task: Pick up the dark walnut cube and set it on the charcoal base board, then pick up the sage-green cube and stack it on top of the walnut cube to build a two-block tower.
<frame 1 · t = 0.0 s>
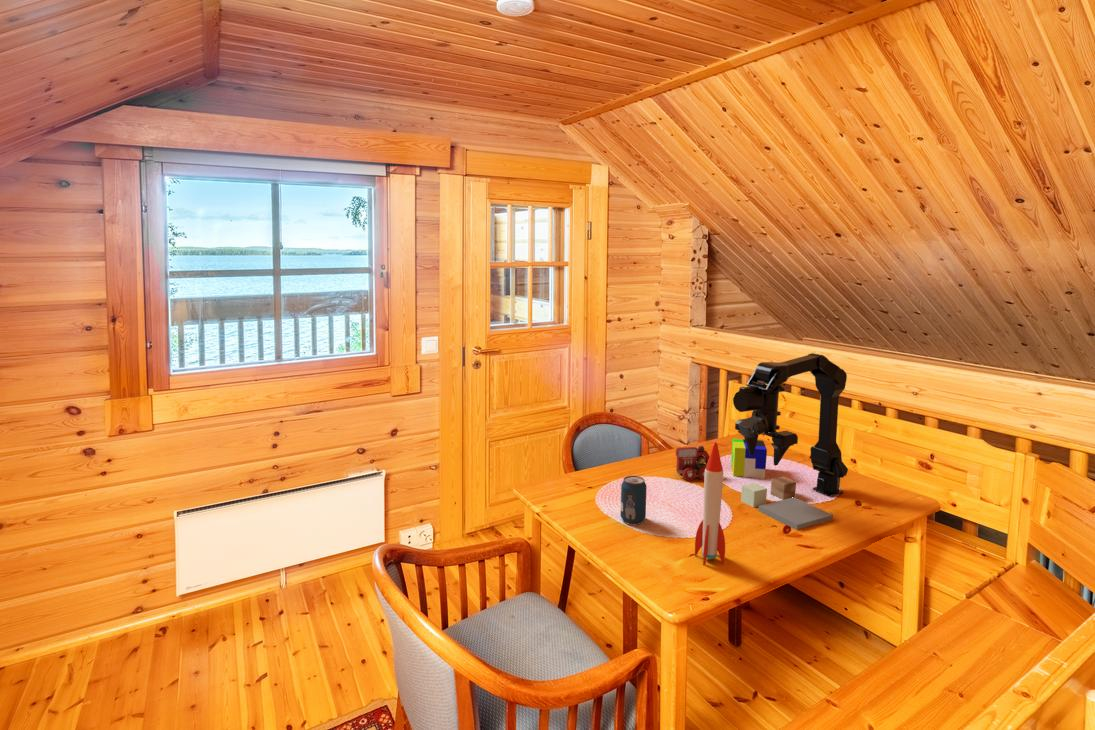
hand: (763, 460, 183), 15 cm above the table, tool pointing down, fingers open, 9 cm apart
base board: (795, 515, 181), on the table
puzzle toy: (747, 473, 215), on the table
toy fire truck: (693, 477, 211), on the table
toy rocket: (709, 560, 156), on the table
soda can: (632, 520, 178), on the table
walnut cube: (782, 495, 195), on the table
sage cube: (753, 503, 190), on the table
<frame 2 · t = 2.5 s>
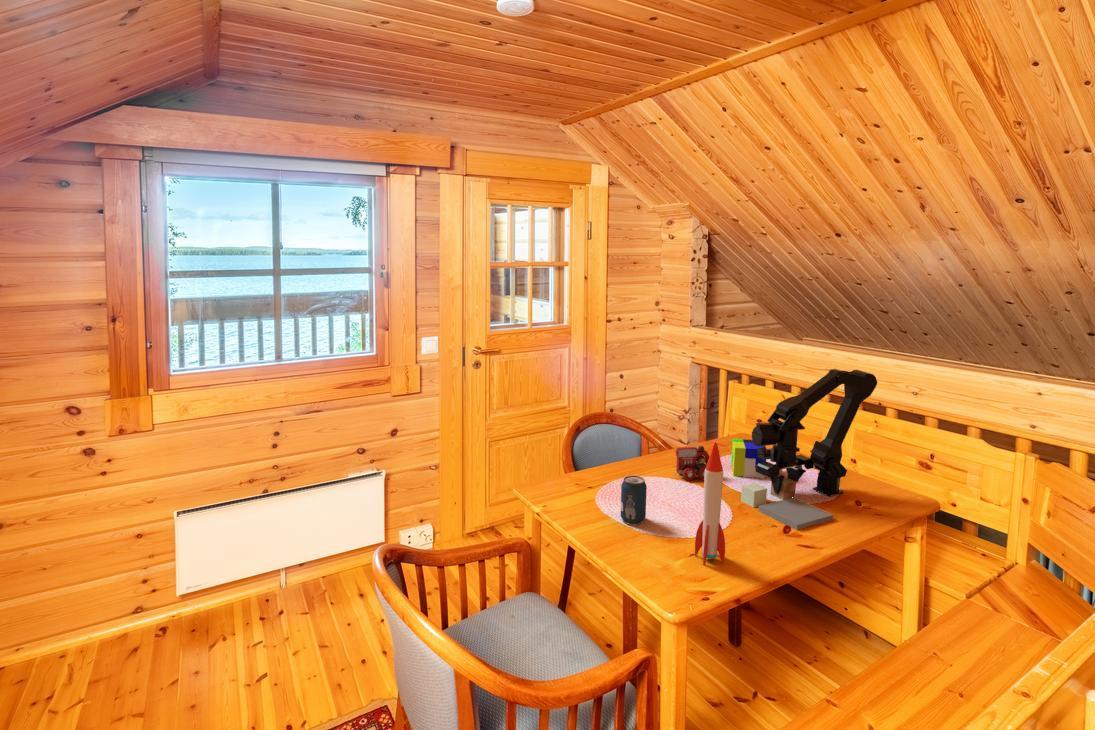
hand: (783, 492, 195), 1 cm above the table, tool pointing down, fingers closed on walnut cube, 5 cm apart
walnut cube: (782, 495, 195), on the table, touching gripper
everything else where it was.
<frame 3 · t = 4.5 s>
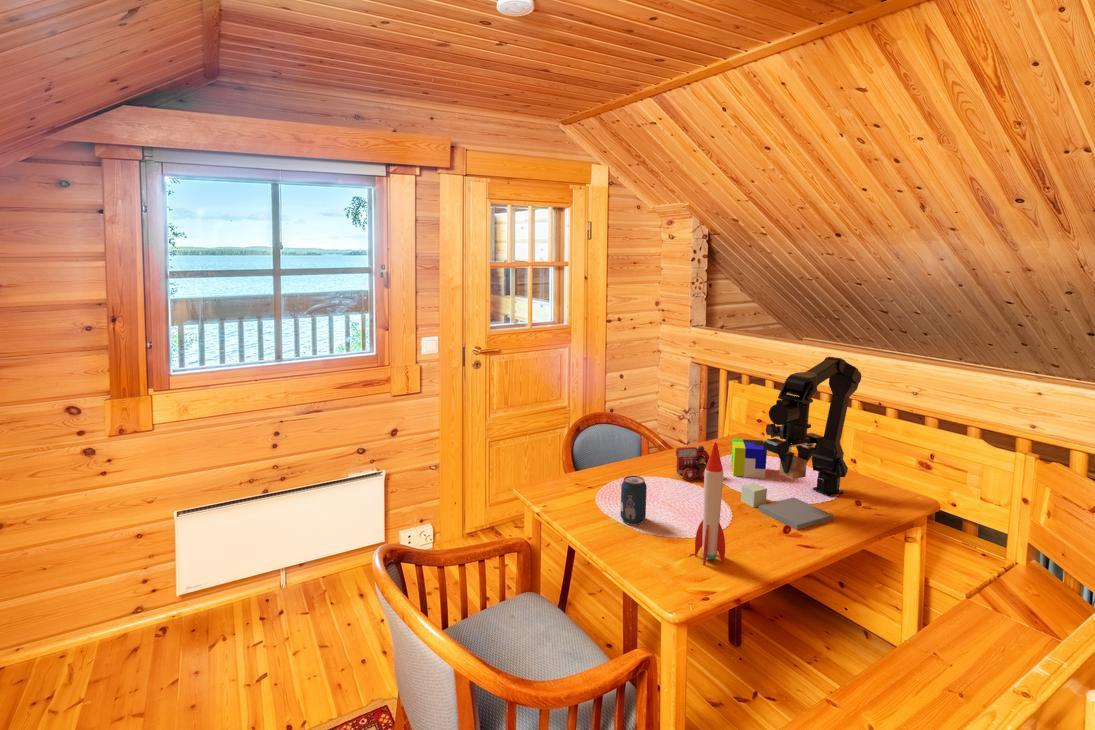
hand: (792, 471, 183), 11 cm above the table, tool pointing down, fingers closed on walnut cube, 5 cm apart
walnut cube: (792, 475, 183), point 10 cm above the table, touching gripper
everything else where it was.
when the fingers open (3 cm above the table, at t = 6.6 s): walnut cube stays where it is, resting on base board.
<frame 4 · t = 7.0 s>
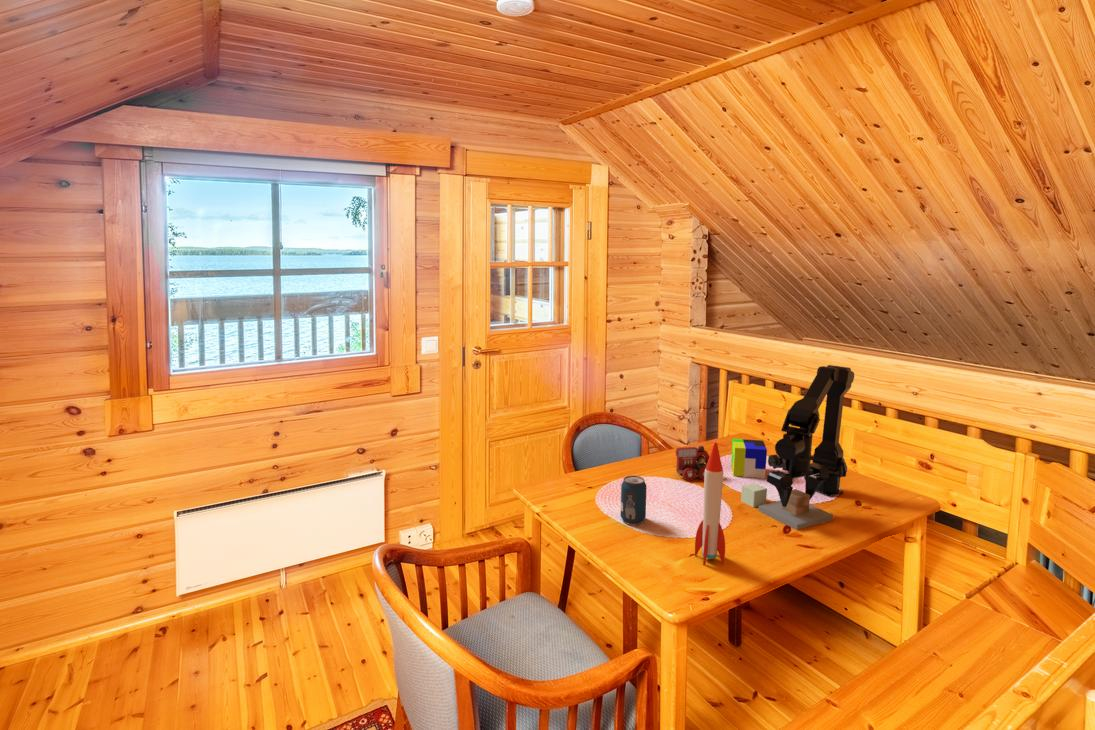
hand: (795, 503, 180), 3 cm above the table, tool pointing down, fingers open, 9 cm apart
walnut cube: (795, 510, 181), point 1 cm above the table, touching base board
everything else where it was.
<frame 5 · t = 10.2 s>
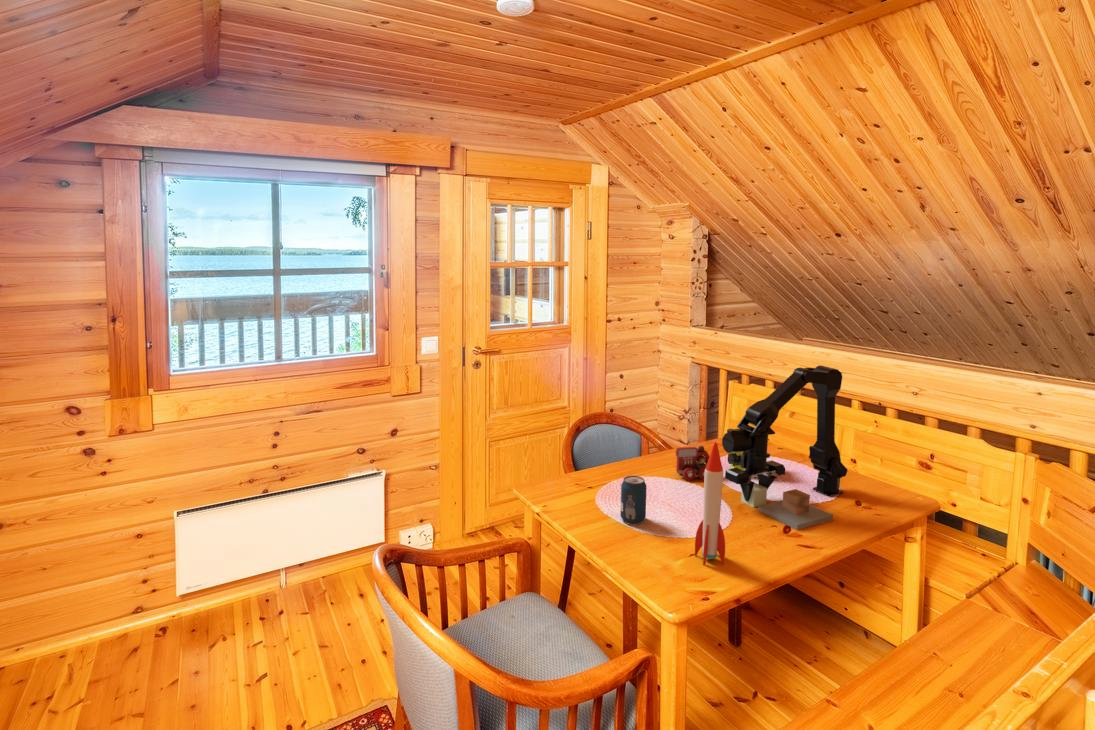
hand: (753, 499, 189), 1 cm above the table, tool pointing down, fingers closed on sage cube, 5 cm apart
sage cube: (753, 502, 190), on the table, touching gripper
everything else where it was.
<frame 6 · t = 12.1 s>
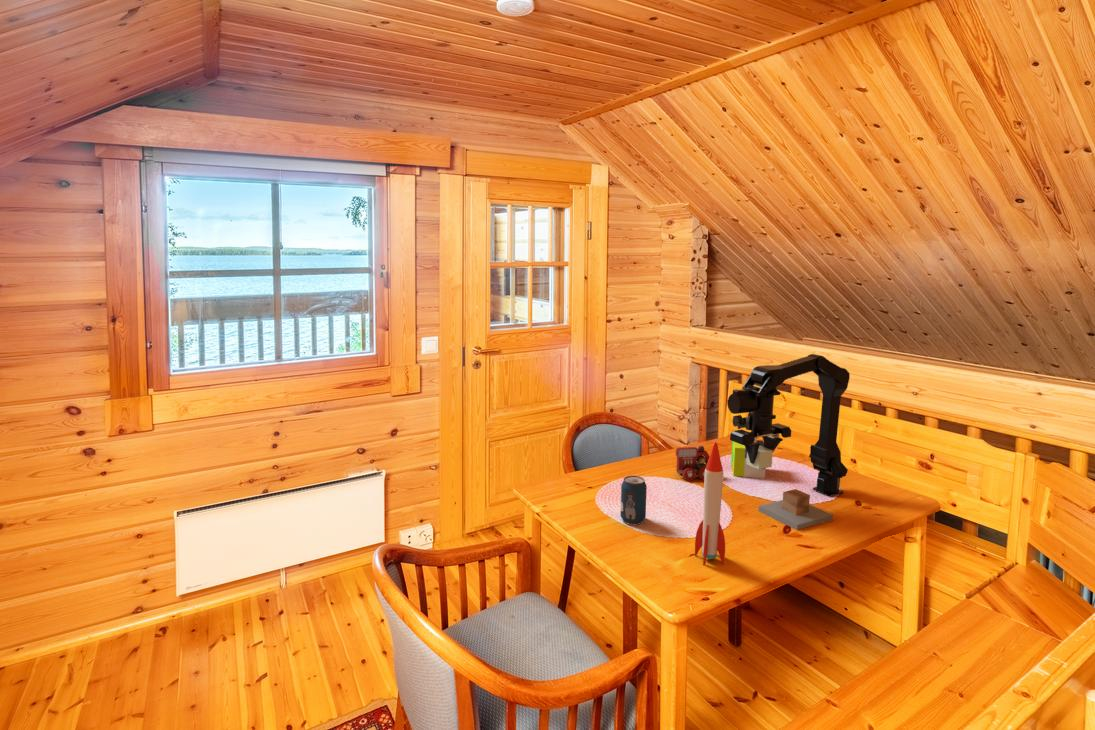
hand: (759, 462, 187), 13 cm above the table, tool pointing down, fingers closed on sage cube, 5 cm apart
sage cube: (758, 465, 187), point 12 cm above the table, touching gripper
everything else where it was.
when the fingers open (8 cm above the table, at t = 14.0 s): sage cube stays where it is, resting on walnut cube.
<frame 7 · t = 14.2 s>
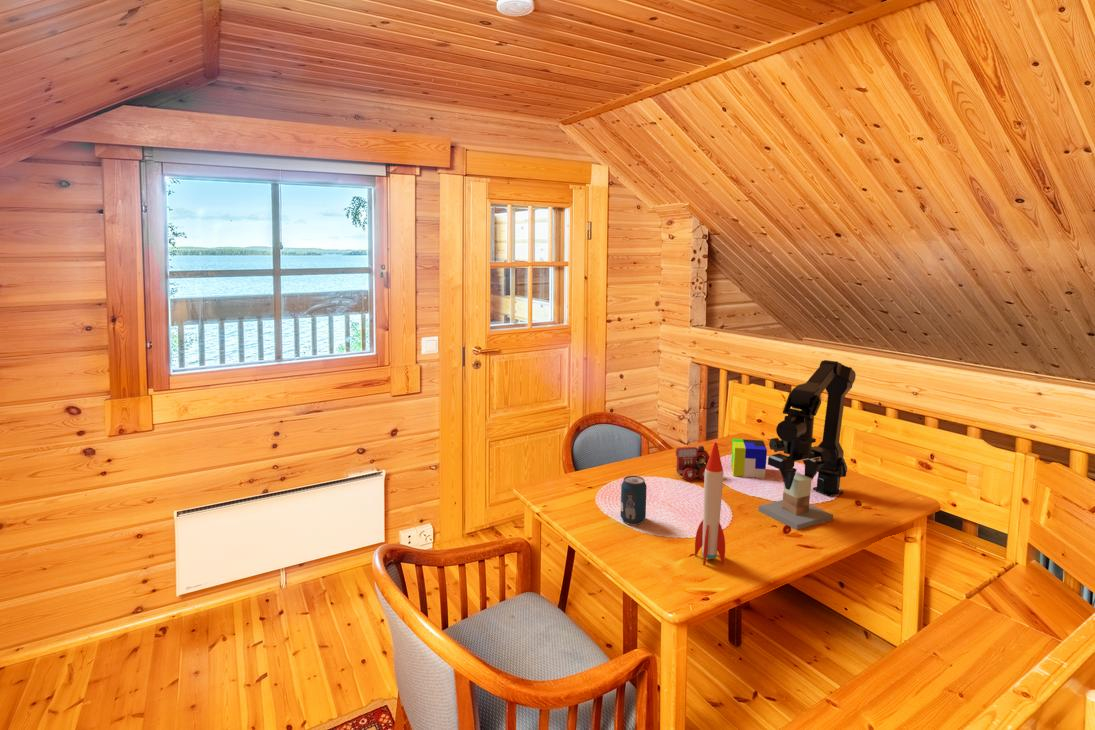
hand: (797, 486, 179), 8 cm above the table, tool pointing down, fingers open, 7 cm apart
walnut cube: (795, 510, 181), point 1 cm above the table, touching base board, sage cube
sage cube: (796, 493, 180), point 6 cm above the table, touching walnut cube
everything else where it was.
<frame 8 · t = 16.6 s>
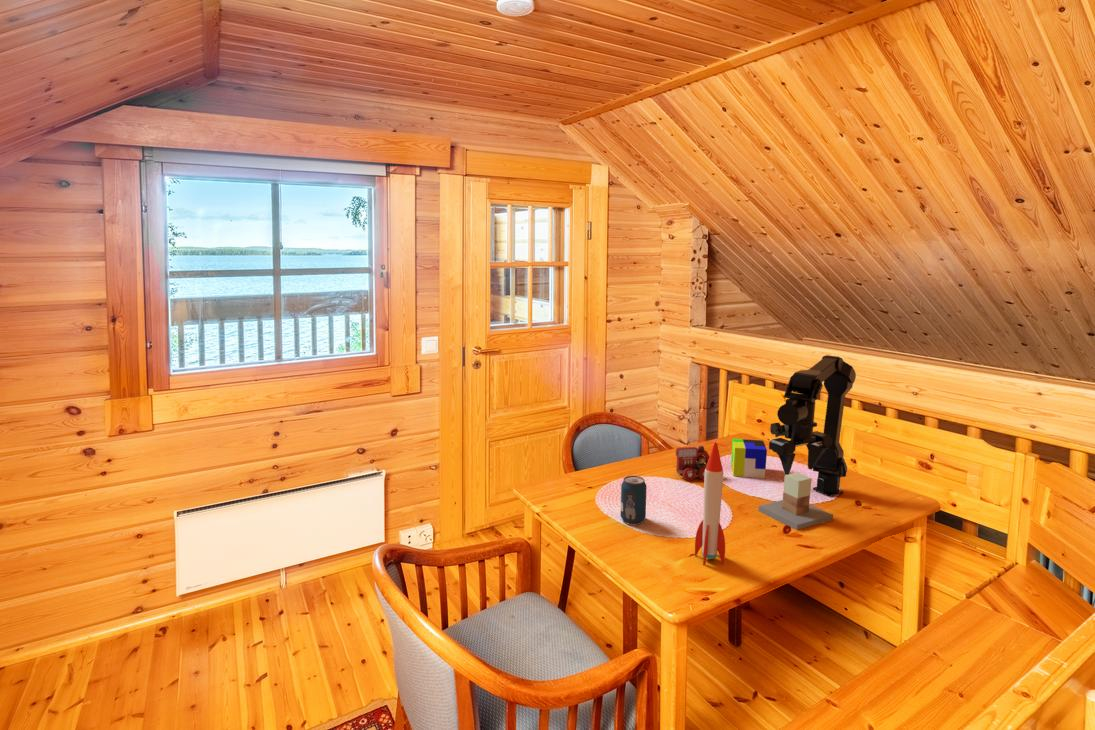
hand: (798, 471, 178), 13 cm above the table, tool pointing down, fingers open, 9 cm apart
nothing on the table moved.
at the end: walnut cube inside the target area on the base board (0.1 cm from its centre), point 1.5 cm above the base board's base; sage cube 0.1 cm off-centre on the walnut cube, point 5.0 cm above the walnut cube's base; sage cube tilted 0° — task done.
